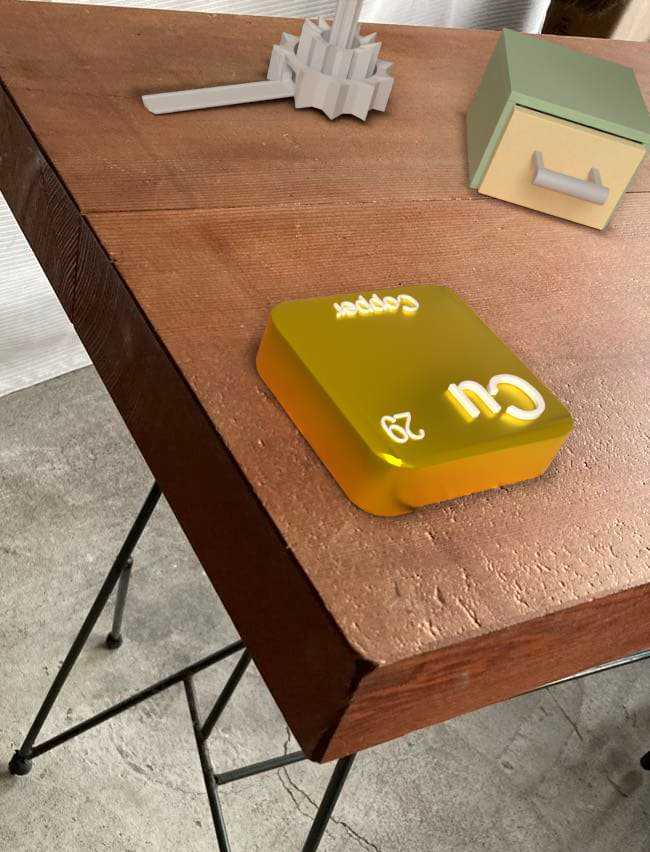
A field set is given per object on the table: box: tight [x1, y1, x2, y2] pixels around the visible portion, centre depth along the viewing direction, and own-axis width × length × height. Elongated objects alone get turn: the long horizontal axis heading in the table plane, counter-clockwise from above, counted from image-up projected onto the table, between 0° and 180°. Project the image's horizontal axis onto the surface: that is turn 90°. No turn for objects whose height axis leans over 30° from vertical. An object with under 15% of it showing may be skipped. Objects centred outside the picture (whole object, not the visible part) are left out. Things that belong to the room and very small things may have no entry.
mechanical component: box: [141, 0, 395, 122], centre depth 82 cm, size 11×25×15 cm, turn 136°
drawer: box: [477, 103, 646, 231], centre depth 85 cm, size 18×11×7 cm, turn 172°
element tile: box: [255, 284, 575, 518], centre depth 60 cm, size 15×15×5 cm
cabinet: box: [465, 26, 650, 229], centre depth 88 cm, size 15×13×9 cm
